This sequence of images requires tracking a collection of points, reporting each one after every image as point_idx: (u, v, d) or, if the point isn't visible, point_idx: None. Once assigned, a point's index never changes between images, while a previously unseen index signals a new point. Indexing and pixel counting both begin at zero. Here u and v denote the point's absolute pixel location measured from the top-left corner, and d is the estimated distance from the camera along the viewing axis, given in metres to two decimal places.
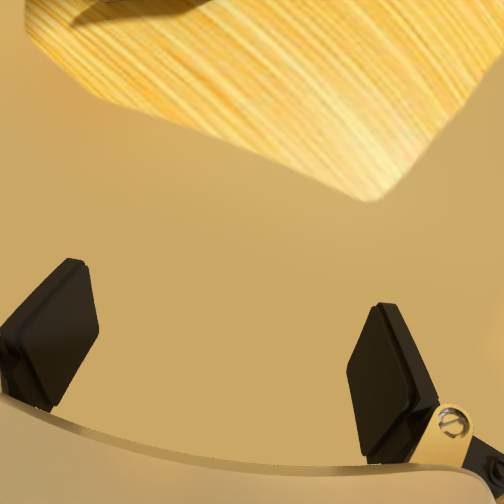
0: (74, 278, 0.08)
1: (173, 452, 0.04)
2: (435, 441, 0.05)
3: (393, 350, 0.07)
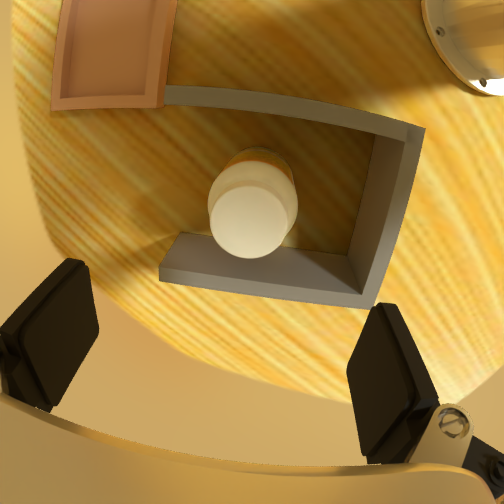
0: (74, 278, 0.08)
1: (173, 452, 0.04)
2: (435, 441, 0.05)
3: (393, 350, 0.07)
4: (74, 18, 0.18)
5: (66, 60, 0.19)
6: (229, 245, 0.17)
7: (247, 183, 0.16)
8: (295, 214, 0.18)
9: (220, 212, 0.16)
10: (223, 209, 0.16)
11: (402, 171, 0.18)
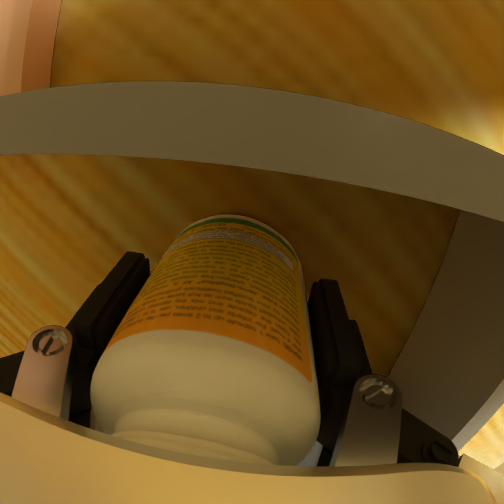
0: (139, 270, 0.09)
1: (173, 452, 0.04)
2: (363, 417, 0.06)
3: (323, 320, 0.08)
4: None
5: None
6: None
7: None
8: (311, 447, 0.06)
9: None
10: None
11: None
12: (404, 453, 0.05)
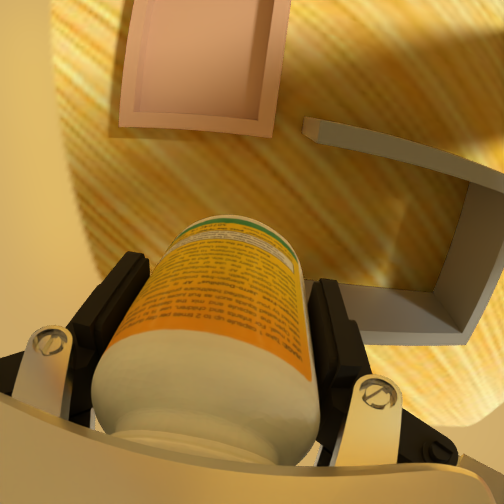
0: (139, 270, 0.09)
1: (173, 452, 0.04)
2: (363, 417, 0.06)
3: (323, 320, 0.08)
4: (151, 10, 0.16)
5: (141, 63, 0.17)
6: None
7: None
8: (311, 446, 0.06)
9: None
10: None
11: None
12: (404, 453, 0.05)
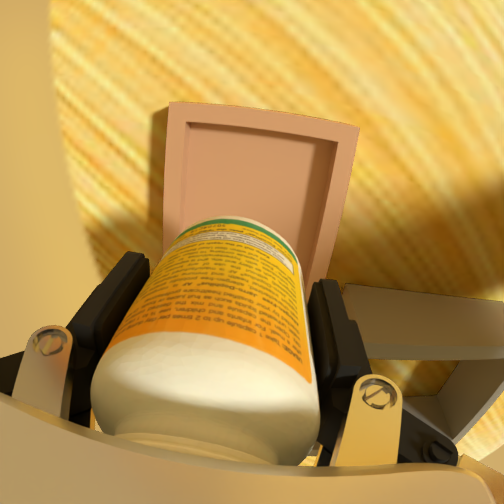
0: (139, 270, 0.09)
1: (173, 452, 0.04)
2: (363, 417, 0.06)
3: (323, 320, 0.08)
4: (186, 166, 0.18)
5: (181, 231, 0.19)
6: None
7: None
8: (311, 448, 0.06)
9: None
10: None
11: None
12: (404, 453, 0.05)
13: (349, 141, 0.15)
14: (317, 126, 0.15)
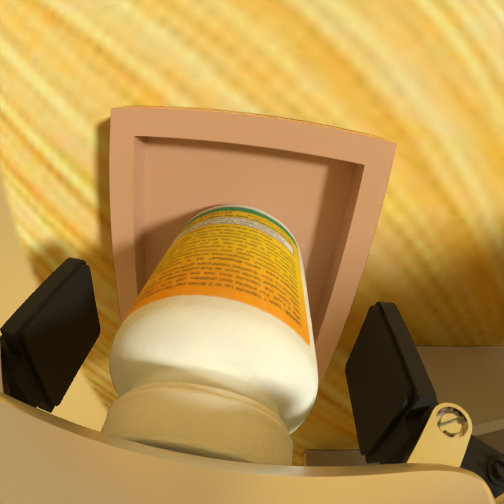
0: (75, 278, 0.08)
1: (173, 452, 0.04)
2: (434, 440, 0.05)
3: (391, 349, 0.07)
4: (142, 199, 0.12)
5: (141, 287, 0.14)
6: None
7: (172, 418, 0.04)
8: (310, 409, 0.07)
9: None
10: None
11: None
12: None
13: (381, 164, 0.10)
14: (333, 141, 0.10)
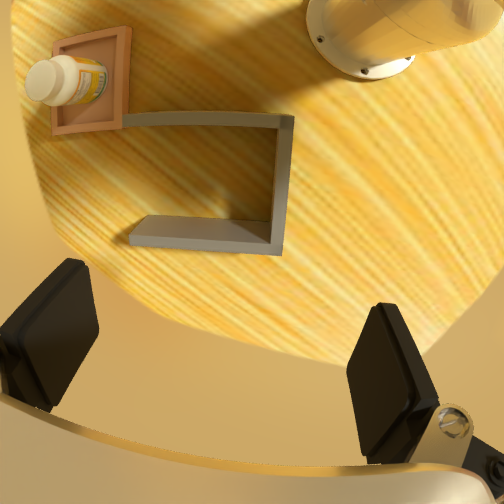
0: (74, 278, 0.08)
1: (173, 452, 0.04)
2: (435, 441, 0.05)
3: (393, 350, 0.07)
4: None
5: None
6: (32, 95, 0.21)
7: (41, 61, 0.20)
8: (74, 76, 0.23)
9: (28, 79, 0.20)
10: (29, 76, 0.20)
11: (281, 149, 0.27)
12: None
13: (122, 32, 0.26)
14: (107, 31, 0.26)
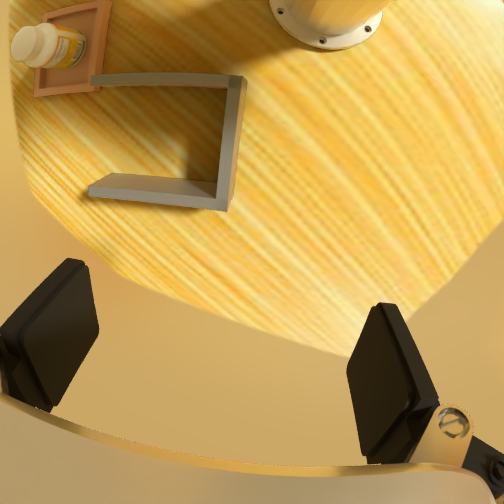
0: (74, 278, 0.08)
1: (173, 452, 0.04)
2: (435, 441, 0.05)
3: (393, 350, 0.07)
4: None
5: None
6: (15, 56, 0.21)
7: None
8: (53, 40, 0.22)
9: (14, 42, 0.20)
10: (15, 40, 0.20)
11: (228, 106, 0.27)
12: None
13: (101, 5, 0.25)
14: (89, 4, 0.25)
